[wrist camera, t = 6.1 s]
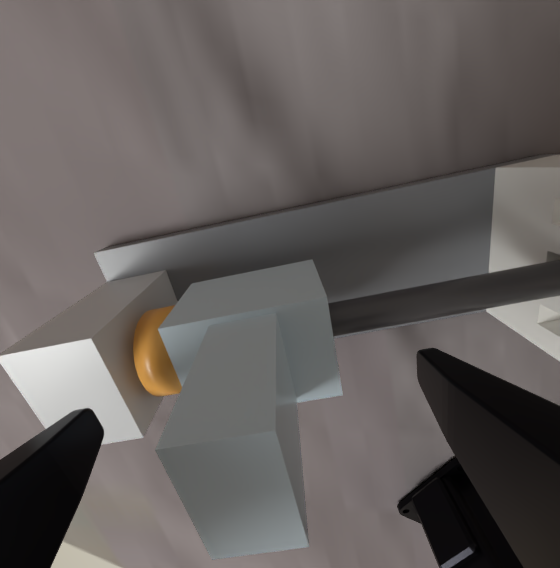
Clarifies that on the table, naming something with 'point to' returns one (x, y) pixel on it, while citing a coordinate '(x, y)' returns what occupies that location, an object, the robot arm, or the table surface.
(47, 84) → the table surface
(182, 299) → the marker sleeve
